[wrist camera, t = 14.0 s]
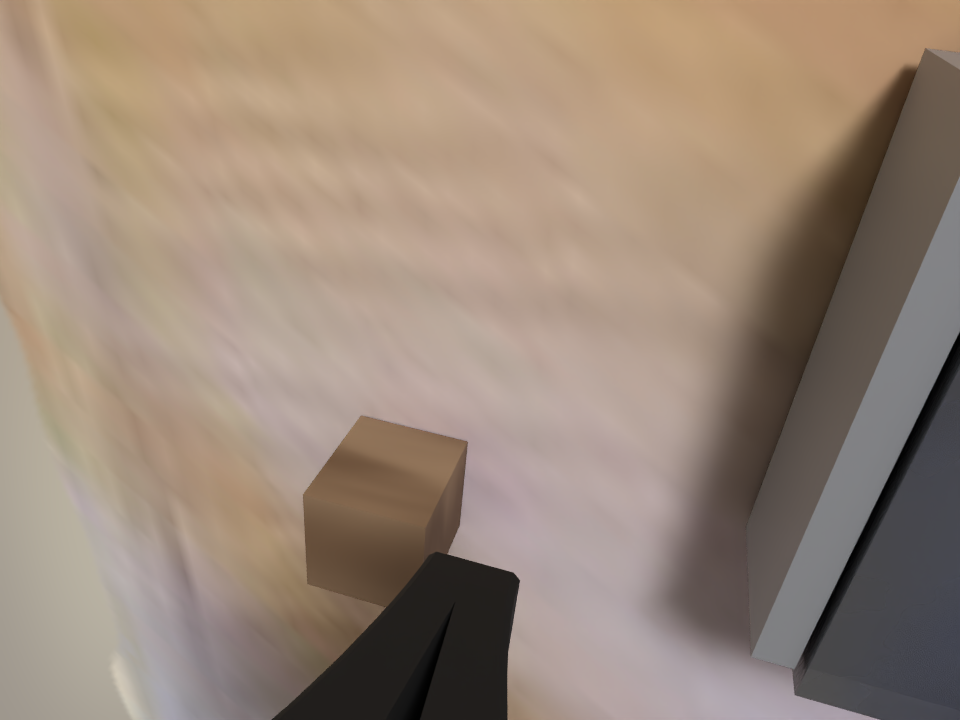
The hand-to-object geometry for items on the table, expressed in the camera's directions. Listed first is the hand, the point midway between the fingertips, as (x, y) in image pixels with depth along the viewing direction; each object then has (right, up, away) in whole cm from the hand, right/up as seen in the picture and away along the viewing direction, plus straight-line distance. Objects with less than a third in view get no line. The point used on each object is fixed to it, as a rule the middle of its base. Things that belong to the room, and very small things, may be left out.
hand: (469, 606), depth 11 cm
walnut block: (-2, 0, +13) cm, 13 cm away
